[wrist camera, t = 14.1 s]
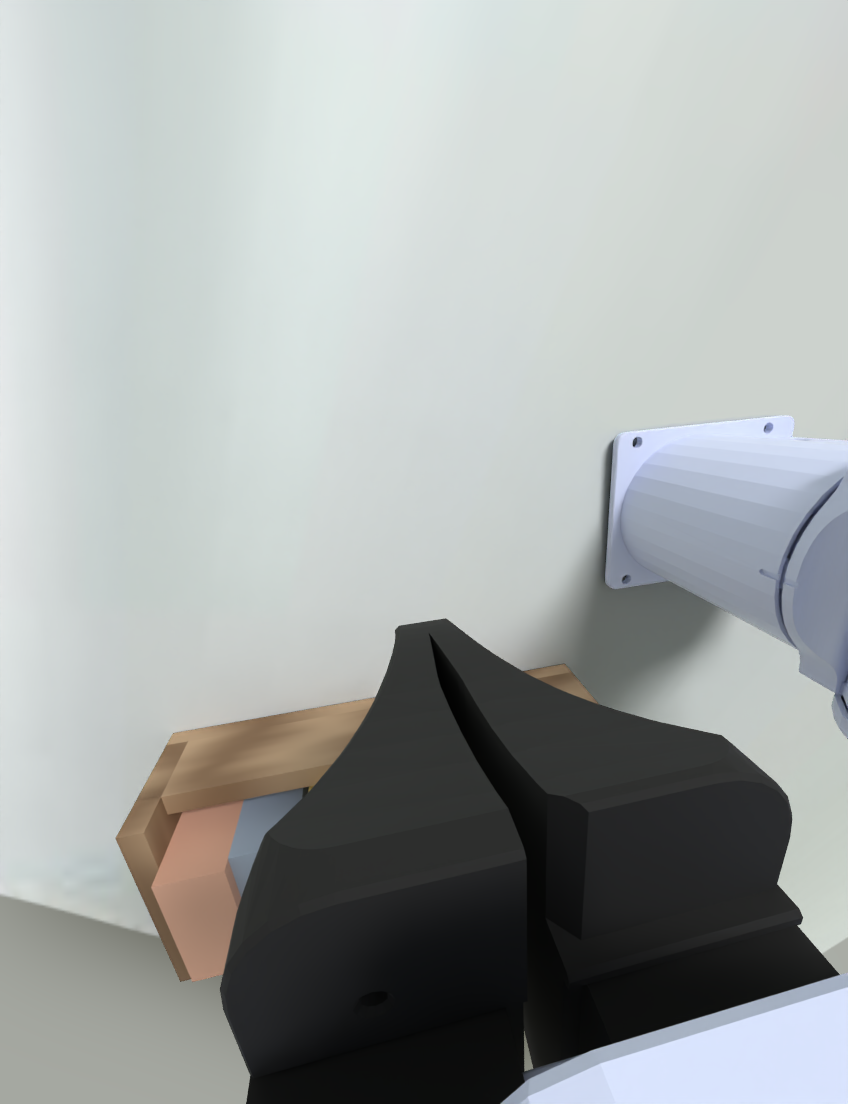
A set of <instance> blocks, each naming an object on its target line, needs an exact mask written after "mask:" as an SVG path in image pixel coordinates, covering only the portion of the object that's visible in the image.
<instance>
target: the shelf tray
mask: <svg viewBox="0 0 848 1104" xmlns="http://www.w3.org/2000/svg"><path fill="white" fill-rule="evenodd" d="M523 672H525V673H527V674H529V675H531V676H532V677H535V678H537V679H539V680H541V681H543V682H545V683H547V684H549V685H551V686H553V687H555V688H558V689H560V690H563V691H565V692H567V693H570V694H572V695H575V696H578V697H580V698H583V699H586V700H588V701H591V702H594V703H596V704H598V703H597V701H596V700H595V699H594V698H593V697H592V696H591V694H590V693H589V692H588V691H587V690H586V688H585V687H584V686H583V685H582V684H581V683H580V681H579V680H578V679H577V678H576V677H575V675H574V674H573V673H572V672H571V671H570V669H569V668H568V667H567V666H566V665H565V664H562V665H556V666H550V667H545V668H539V669H533V670H528V671H523ZM374 699H375V698H370V699H364V700H358V701H353V702H347V703H342V704H336V705H330V706H325V707H319V708H313V709H308V710H302V711H296V712H291V713H285V714H280V715H274V716H268V717H263V718H257V719H251V720H246V721H240V722H234V723H229V724H223V725H217V726H212V727H206V728H201V729H195V730H189V731H184V732H178V733H173V734H172V736H171V738H170V740H169V742H168V743H167V745H166V747H165V749H164V751H163V753H162V754H161V756H160V758H159V760H158V762H157V764H156V765H155V767H154V769H153V771H152V773H151V775H150V776H149V778H148V780H147V782H146V784H145V785H144V787H143V789H142V791H141V793H140V795H139V796H138V798H137V800H136V802H135V804H134V806H133V807H132V809H131V811H130V813H129V815H128V817H127V818H126V820H125V822H124V824H123V826H122V828H121V829H120V831H119V833H118V835H117V837H116V841H117V843H118V845H119V847H120V849H121V852H122V854H123V856H124V858H125V860H126V863H127V865H128V867H129V869H130V872H131V874H132V876H133V878H134V880H135V883H136V885H137V887H138V889H139V891H140V894H141V896H142V898H143V900H144V902H145V905H146V907H147V909H148V911H149V913H150V916H151V918H152V920H153V922H154V924H155V927H156V929H157V931H158V933H159V935H160V938H161V940H162V942H163V944H164V946H165V949H166V951H167V953H168V955H169V958H170V960H171V962H172V964H173V966H174V968H175V971H176V973H177V975H178V977H179V980H180V982H181V981H185V980H189V979H191V977H190V975H189V973H188V971H187V968H186V966H185V964H184V961H183V959H182V957H181V955H180V952H179V950H178V948H177V945H176V943H175V941H174V939H173V936H172V934H171V932H170V929H169V927H168V925H167V923H166V920H165V918H164V916H163V913H162V911H161V909H160V907H159V904H158V902H157V900H156V898H155V895H154V893H153V891H152V888H151V886H152V884H153V882H154V879H155V877H156V874H157V872H158V870H159V867H160V865H161V862H162V860H163V858H164V855H165V853H166V850H167V848H168V846H169V843H170V841H171V838H172V836H173V834H174V831H175V829H176V826H177V824H178V822H179V819H180V817H181V814H182V812H184V811H189V810H194V809H199V808H204V807H209V806H214V805H219V804H224V803H229V802H234V801H239V800H244V799H249V798H254V797H259V796H264V795H269V794H274V793H279V792H284V791H289V790H294V789H299V788H304V787H309V786H314V785H315V784H316V783H317V782H318V781H319V779H320V778H321V777H322V776H323V775H324V773H325V772H326V771H327V770H328V769H329V767H330V766H331V765H332V764H333V763H334V761H335V760H336V759H337V758H338V757H339V755H340V754H341V753H342V751H343V750H344V748H345V747H346V746H347V744H348V743H349V741H350V740H351V738H352V737H353V735H354V734H355V732H356V731H357V729H358V728H359V726H360V725H361V723H362V721H363V720H364V718H365V716H366V714H367V713H368V711H369V709H370V707H371V705H372V703H373V701H374Z"/></svg>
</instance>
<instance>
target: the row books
mask: <svg viewBox="0 0 848 1104" xmlns="http://www.w3.org/2000/svg"><path fill="white" fill-rule="evenodd" d="M308 789H309V787H304V788H299V789H294V790H289V791H284V792H279V793H274V794H269V795H264V796H259V797H254V798H249V799H244V800H239V801H234V802H229V803H224V804H219V805H214V806H209V807H204V808H199V809H194V810H189V811H184V812H182V814H181V817H180V819H179V822H178V824H177V826H176V829H175V831H174V834H173V836H172V838H171V841H170V843H169V846H168V848H167V850H166V853H165V855H164V858H163V860H162V862H161V865H160V867H159V870H158V872H157V874H156V877H155V879H154V882H153V884H152V886H151V888H152V891H153V893H154V895H155V898H156V900H157V902H158V904H159V907H160V909H161V911H162V913H163V916H164V918H165V920H166V923H167V925H168V927H169V929H170V932H171V934H172V936H173V939H174V941H175V943H176V945H177V948H178V950H179V952H180V955H181V957H182V959H183V961H184V964H185V966H186V968H187V971H188V973H189V975H190V977H191V980H192V982H194V981H198V980H202V979H207V978H210V977H215V976H219V975H223V973H224V968H225V963H226V959H227V954H228V949H229V945H230V940H231V935H232V931H233V926H234V922H235V918H236V913H237V910H238V907H239V903H240V900H241V897H242V894H243V891H244V888H245V885H246V882H247V879H248V877H249V874H250V871H251V868H252V865H253V863H254V860H255V857H256V855H257V852H258V850H259V847H260V845H261V842H262V840H263V838H264V835H265V834H266V833H267V831H269V830H270V829H271V828H272V827H273V826H274V825H275V824H276V823H277V822H278V821H279V820H280V819H282V818H283V817H284V816H285V815H286V814H287V813H288V812H289V811H290V810H291V809H292V808H293V807H294V806H295V805H296V804H297V803H298V802H299V801H300V800H301V799H302V798H303V797H304V796H305V795H306V794H307V793H308Z"/></svg>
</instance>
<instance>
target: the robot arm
mask: <svg viewBox="0 0 848 1104" xmlns="http://www.w3.org/2000/svg"><path fill="white" fill-rule="evenodd" d="M765 425H766V428H765V430H764V427H765ZM793 429H794V419H793V418H792V417H791V416H773V417H763V418H753V419H744V420H734V421H725V422H715V423H706V424H696V425H687V426H677V427H668V428H658V429H649V430H639V431H630V432H623V433H620V434H619V435H617V436H616V438H615V440H614V444H613V458H612V474H611V491H610V507H609V523H608V539H607V555H606V572H605V583H606V584H607V586H609V587H610V588H612V589H621V588H627V587H633V586H640V585H646V584H653V583H659V582H665V581H670V582H672V583H674V584H676V585H678V586H680V587H682V588H683V589H685V590H687V591H689V592H691V593H693V594H695V595H696V596H698V597H700V598H702V599H704V600H706V601H708V602H710V603H711V604H713V605H715V606H717V607H719V608H721V609H723V610H724V611H726V612H728V613H730V614H732V615H734V616H736V617H738V618H739V619H741V620H743V621H745V622H747V623H749V624H751V625H752V626H754V627H756V628H758V629H760V630H762V631H764V632H766V633H767V634H769V635H771V636H773V637H775V638H777V639H779V640H780V641H782V642H784V643H786V644H788V645H790V646H792V647H794V648H795V649H797V650H799V654H800V665H799V672H800V673H801V674H803V675H805V676H807V677H808V678H810V679H812V680H813V681H815V682H817V683H819V684H820V685H822V686H824V687H825V688H827V689H829V690H831V691H832V692H834V693H835V695H834V697H833V701H832V711H833V716H834V719H835V721H836V723H837V725H838V727H839V729H840V730H841V731H842V733H843V734H844V735H845V736H846V738H847V739H848V440H832V439H816V438H799V437H792V434H793ZM634 438H637V444H636V445H635V446H634V447H633V445H632V442H633V440H634ZM625 575H626V579H625V580H623V581H622V578H623V577H624V576H625ZM791 825H792V812H791V808H790V804H789V800H788V796H787V795H786V794H785V792H784V791H783V790H782V789H781V787H780V786H779V785H778V784H777V783H776V782H775V781H774V780H773V779H772V778H771V777H769V776H768V775H767V774H766V773H765V772H764V771H763V770H761V769H760V768H759V767H758V766H757V765H756V764H755V763H753V762H752V761H751V760H750V759H749V758H748V757H746V756H745V755H744V754H743V753H742V752H741V751H740V750H738V749H737V748H736V747H735V746H734V745H733V744H732V743H730V742H729V741H728V740H727V739H725V738H724V737H723V736H722V735H717V734H713V733H708V732H703V731H699V730H694V729H689V728H684V727H680V726H675V725H670V724H666V723H661V722H657V721H653V720H649V719H646V718H642V717H638V716H635V715H631V714H628V713H624V712H621V711H618V710H614V709H611V708H608V707H605V706H602V705H599V704H596V703H594V702H591V701H588V700H586V699H583V698H580V697H578V696H575V695H572V694H570V693H567V692H565V691H563V690H560V689H558V688H555V687H553V686H551V685H549V684H547V683H545V682H543V681H541V680H539V679H537V678H535V677H532V676H531V675H529V674H527V673H525V672H523V671H521V670H519V669H518V668H516V667H514V666H513V665H511V664H509V663H508V662H506V661H504V660H503V659H501V658H499V657H498V656H496V655H495V654H493V653H492V652H490V651H489V650H487V649H486V648H484V647H483V646H482V645H480V644H479V643H477V642H476V641H475V640H473V639H472V638H471V637H469V636H468V635H467V634H465V633H464V632H463V631H462V630H460V629H459V628H458V627H456V626H455V625H454V624H453V623H451V622H450V621H449V620H447V619H440V620H433V621H427V622H421V623H414V624H408V625H401V626H398V628H397V629H396V630H395V644H394V649H393V653H392V656H391V659H390V663H389V666H388V669H387V672H386V674H385V677H384V679H383V682H382V684H381V686H380V689H379V691H378V693H377V695H376V697H375V699H374V701H373V703H372V705H371V707H370V709H369V711H368V713H367V714H366V716H365V718H364V720H363V721H362V723H361V725H360V726H359V728H358V729H357V731H356V732H355V734H354V735H353V737H352V738H351V740H350V741H349V743H348V744H347V746H346V747H345V748H344V750H343V751H342V753H341V754H340V755H339V757H338V758H337V759H336V760H335V761H334V763H333V764H332V765H331V766H330V767H329V769H328V770H327V771H326V772H325V773H324V775H323V776H322V777H321V778H320V779H319V781H318V782H317V783H316V784H315V785H314V787H313V788H312V789H311V790H310V791H309V792H308V793H307V794H306V795H305V796H304V797H303V798H302V799H301V800H300V801H299V802H298V803H297V804H296V805H295V806H294V807H293V808H292V809H291V810H290V811H289V812H288V813H287V814H286V815H285V816H284V817H283V818H282V819H280V820H279V821H278V822H277V823H276V824H275V825H274V826H273V827H272V828H271V829H270V830H269V831H267V833H266V834H265V835H264V838H263V840H262V842H261V845H260V847H259V850H258V852H257V855H256V857H255V860H254V863H253V865H252V868H251V871H250V874H249V877H248V879H247V882H246V885H245V888H244V891H243V894H242V897H241V900H240V903H239V907H238V910H237V913H236V918H235V922H234V926H233V931H232V935H231V940H230V945H229V949H228V954H227V959H226V963H225V968H224V973H223V977H222V982H221V987H220V992H221V998H222V1004H223V1010H224V1012H225V1015H226V1017H227V1020H228V1022H229V1025H230V1027H231V1029H232V1032H233V1034H234V1037H235V1039H236V1042H237V1044H238V1046H239V1049H240V1051H241V1054H242V1056H243V1058H244V1061H245V1063H246V1066H247V1068H248V1071H249V1073H250V1075H251V1076H250V1083H249V1089H248V1096H247V1102H246V1104H848V973H845V974H842V975H840V974H839V973H838V972H837V971H836V970H835V969H834V968H833V966H832V965H831V964H830V963H829V962H828V961H827V960H826V958H825V957H824V956H823V955H822V954H821V953H820V951H819V950H818V949H817V948H816V947H815V946H814V944H813V943H812V942H811V941H810V940H809V939H808V938H807V936H806V935H805V934H804V933H803V932H802V931H801V929H800V928H799V927H798V926H797V925H800V924H801V922H802V919H803V916H802V914H801V912H800V910H799V908H798V907H797V906H796V905H795V904H794V902H793V901H792V900H791V899H790V898H789V897H788V896H787V895H786V894H785V892H784V891H783V890H782V889H781V888H780V887H779V886H778V885H777V882H778V878H779V875H780V871H781V868H782V864H783V861H784V857H785V853H786V850H787V846H788V843H789V839H790V833H791ZM524 1031H525V1035H526V1039H527V1043H528V1048H529V1051H530V1056H531V1060H532V1064H533V1069H532V1070H528V1071H525V1072H524Z"/></svg>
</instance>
